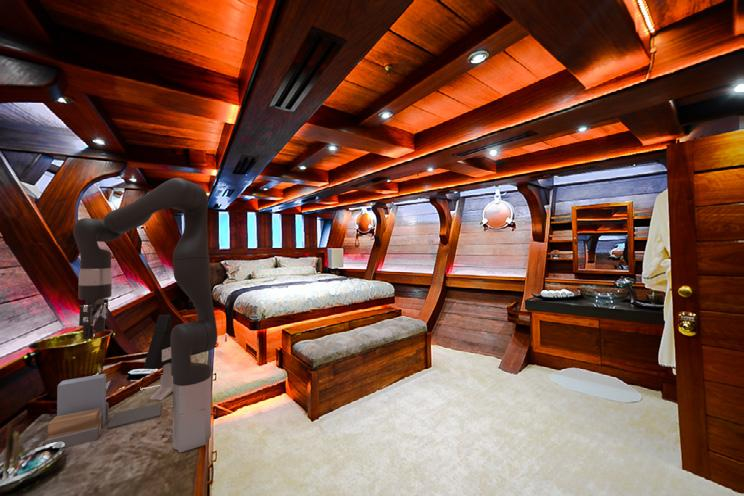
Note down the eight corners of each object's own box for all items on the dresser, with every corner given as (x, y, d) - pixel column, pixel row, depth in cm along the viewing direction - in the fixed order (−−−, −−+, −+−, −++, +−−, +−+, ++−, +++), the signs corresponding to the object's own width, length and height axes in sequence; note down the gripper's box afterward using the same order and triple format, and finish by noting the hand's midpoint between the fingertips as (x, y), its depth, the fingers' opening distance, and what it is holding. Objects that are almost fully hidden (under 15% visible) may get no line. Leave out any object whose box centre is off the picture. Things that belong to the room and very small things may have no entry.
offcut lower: (96, 438, 86) (97, 425, 86) (48, 450, 80) (48, 437, 81) (100, 431, 89) (101, 419, 89) (54, 442, 84) (54, 429, 84)
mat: (159, 416, 96) (159, 415, 96) (106, 429, 89) (106, 427, 89) (161, 404, 104) (162, 402, 104) (113, 415, 98) (113, 413, 98)
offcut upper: (96, 426, 85) (96, 414, 85) (48, 436, 81) (48, 423, 81) (101, 419, 89) (101, 407, 89) (55, 429, 84) (55, 416, 84)
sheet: (102, 426, 91) (103, 377, 91) (56, 437, 86) (57, 385, 86) (105, 420, 94) (106, 373, 95) (61, 431, 89) (62, 380, 89)
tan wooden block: (97, 439, 85) (97, 421, 85) (44, 452, 79) (44, 433, 79) (108, 417, 96) (108, 402, 96) (62, 428, 90) (62, 411, 90)
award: (154, 403, 105) (154, 318, 106) (142, 402, 106) (142, 318, 107) (188, 385, 120) (189, 311, 121) (178, 384, 121) (178, 310, 122)
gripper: (102, 285, 87) (100, 340, 87) (118, 280, 100) (117, 328, 100) (68, 286, 84) (66, 343, 84) (89, 281, 97) (88, 330, 96)
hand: (94, 335), depth 92 cm, fingers open, 8 cm apart
